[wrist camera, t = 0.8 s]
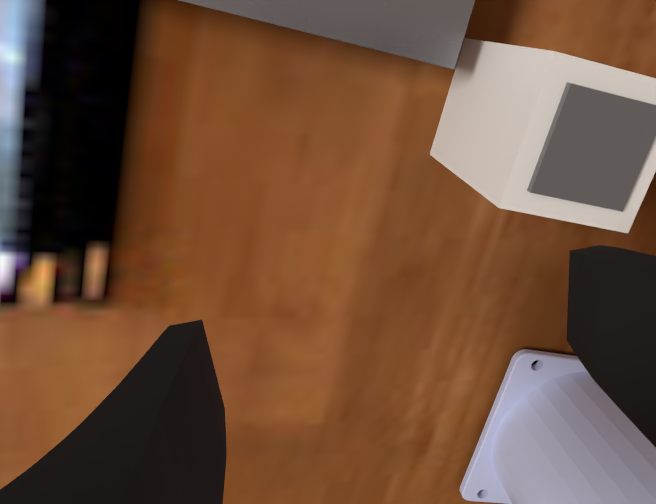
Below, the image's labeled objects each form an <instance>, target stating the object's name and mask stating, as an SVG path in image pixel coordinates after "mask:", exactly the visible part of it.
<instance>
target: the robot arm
mask: <svg viewBox="0 0 656 504" xmlns="http://www.w3.org/2000/svg"><path fill="white" fill-rule="evenodd" d="M567 341H568V343H569V344H570V346H571V347H572V349H573V351H574V352H575V354H576V355H577V356H572V355H565V354H558V353H551V352H543V351H536V350H529V349H522V350H520V351H518V352H516V353H515V354H514V356H513V357H512V359H511V362H510V364H509V367H508V369H507V372H506V374H505V377H504V379H503V382H502V384H501V387H500V389H499V392H498V394H497V397H496V399H495V401H494V404H493V406H492V409H491V411H490V414H489V416H488V419H487V421H486V424H485V426H484V429H483V431H482V434H481V436H480V439H479V441H478V444H477V446H476V449H475V451H474V454H473V456H472V459H471V461H470V464H469V466H468V468H467V471H466V473H465V476H464V478H463V481H462V483H461V486H460V492H461V495H462V497H463V498H464V499H465V500H468V501H479V502H493V503H506V504H656V256H652V255H648V254H644V253H640V252H635V251H631V250H626V249H621V248H616V247H610V246H601V245H599V246H594V247H588V248H583V249H578V250H572V251H570V264H569V292H568V320H567ZM536 360H538V362H537V363H536V364H535V365H531V364H532V363H533V362H534V361H536ZM225 468H226V428H225V408H224V404H223V400H222V396H221V393H220V389H219V385H218V381H217V377H216V373H215V369H214V365H213V361H212V357H211V353H210V349H209V345H208V341H207V337H206V334H205V330H204V326H203V322H202V320H198V321H193V322H187V323H182V324H177V325H171V326H169V327H168V328H167V329H166V330H165V331H164V332H163V333H162V334H161V336H160V337H159V338H158V339H157V340H156V341H155V343H154V344H153V345H152V346H151V348H150V349H149V350H148V351H147V352H146V354H145V355H144V356H143V357H142V358H141V359H140V361H139V362H138V363H137V364H136V365H135V366H134V368H133V369H132V370H131V371H130V372H129V373H128V374H127V376H126V377H125V378H124V379H123V380H122V381H121V383H120V384H119V385H118V386H117V387H116V388H115V389H114V390H113V391H112V392H111V393H110V394H109V395H108V396H107V397H106V398H105V399H104V400H103V401H102V402H101V403H100V404H99V406H98V407H97V408H96V409H95V410H94V411H93V412H92V413H91V414H90V415H89V416H88V417H87V418H86V419H85V420H84V421H83V422H82V423H81V424H80V425H79V426H78V427H77V428H76V429H75V430H73V431H72V432H71V433H70V434H69V435H68V436H67V437H66V438H65V439H64V440H62V441H61V442H60V443H59V444H58V445H57V446H55V447H54V448H53V449H52V450H51V451H50V452H48V453H47V454H46V455H45V456H44V457H43V458H41V459H40V460H39V461H38V462H37V463H35V464H34V465H33V466H32V467H30V468H29V469H28V470H27V471H25V472H24V473H22V474H21V475H20V476H18V477H17V478H16V479H14V480H13V481H12V482H10V483H9V484H8V485H6V486H5V487H3V488H2V489H1V490H0V504H222V502H223V491H224V480H225ZM481 490H482V491H481ZM479 491H480V492H479Z"/></svg>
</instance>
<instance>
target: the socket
mask: <svg viewBox="0 0 656 504" xmlns="http://www.w3.org/2000/svg"><path fill="white" fill-rule="evenodd" d="M179 1H183V2H187V3H191V4H195V5H199V6H203V7H207V8H211V9H215V10H219V11H223V12H227V13H231V14H235V15H239V16H243V17H247V18H251V19H255V20H259V21H263V22H267V23H271V24H275V25H279V26H283V27H287V28H291V29H295V30H299V31H303V32H307V33H311V34H315V35H319V36H323V37H327V38H331V39H335V40H339V41H343V42H347V43H351V44H354V45H358V46H362V47H366V48H370V49H374V50H378V51H382V52H386V53H390V54H394V55H398V56H402V57H406V58H410V59H414V60H418V61H422V62H426V63H430V64H434V65H438V66H442V67H446V68H450V69H455V66H456V62H457V59H458V56H459V52H460V49H461V46H462V42H463V39H464V36H465V33H466V29H467V26H468V23H469V19H470V16H471V13H472V9H473V6H474V3H475V0H179Z"/></svg>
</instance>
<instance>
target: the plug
mask: <svg viewBox="0 0 656 504" xmlns="http://www.w3.org/2000/svg"><path fill="white" fill-rule="evenodd" d="M430 155H431V156H432V157H434V158H435V159H436V160H437V161H439V162H440V163H441V164H443V165H444V166H445V167H447V168H448V169H449V170H450V171H452V172H453V173H454V174H456V175H457V176H458V177H459V178H461V179H462V180H463V181H465V182H466V183H467V184H468V185H470V186H471V187H472V188H474V189H475V190H476V191H478V192H479V193H480V194H481V195H483V196H484V197H485V198H487V199H488V200H489V201H490V202H492V203H493V204H494V205H496V206H497V207H498V208H502V209H507V210H512V211H517V212H522V213H527V214H532V215H537V216H543V217H548V218H553V219H558V220H563V221H568V222H573V223H578V224H583V225H588V226H593V227H598V228H603V229H608V230H613V231H618V232H623V233H628V232H629V230H630V228H631V226H632V223H633V221H634V219H635V217H636V214H637V212H638V210H639V208H640V205H641V203H642V201H643V199H644V196H645V194H646V192H647V190H648V187H649V185H650V183H651V181H652V178H653V176H654V174H655V172H656V79H655V78H652V77H648V76H644V75H641V74H637V73H633V72H630V71H626V70H622V69H618V68H615V67H611V66H607V65H604V64H600V63H596V62H592V61H589V60H585V59H581V58H578V57H574V56H570V55H567V54H563V53H559V52H555V51H549V50H543V49H536V48H529V47H522V46H516V45H509V44H502V43H495V42H489V41H482V40H475V39H468V38H465V39H464V43H463V46H462V49H461V53H460V56H459V59H458V62H457V66H456V69H455V72H454V76H453V79H452V82H451V86H450V89H449V92H448V96H447V99H446V102H445V106H444V109H443V112H442V115H441V119H440V122H439V125H438V129H437V132H436V135H435V139H434V142H433V145H432V149H431V152H430Z"/></svg>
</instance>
